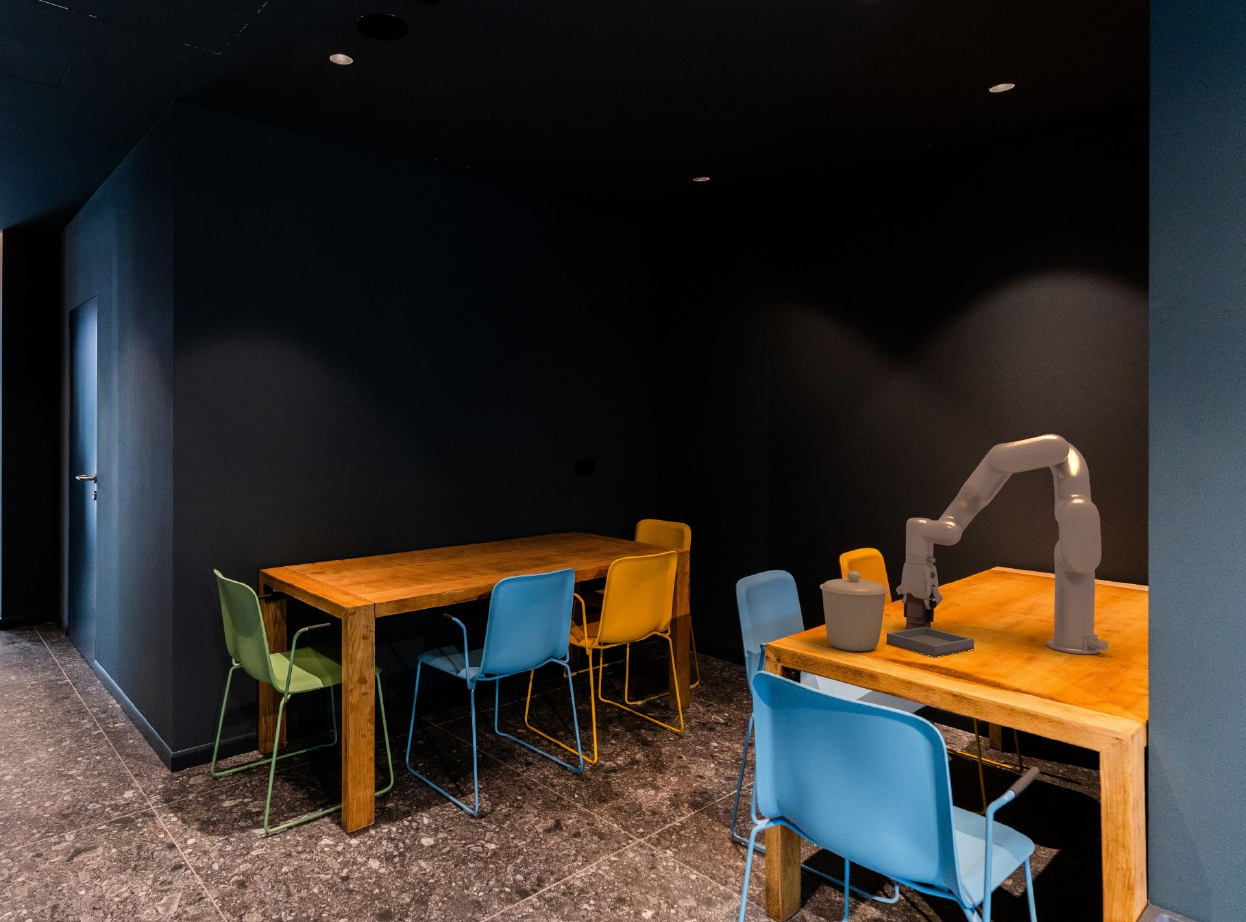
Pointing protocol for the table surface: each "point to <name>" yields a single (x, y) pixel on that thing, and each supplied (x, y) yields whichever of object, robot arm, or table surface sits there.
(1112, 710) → the table surface
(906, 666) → the table surface
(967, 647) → the tray
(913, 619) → the box
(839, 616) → the canister
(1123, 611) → the table surface
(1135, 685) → the table surface
